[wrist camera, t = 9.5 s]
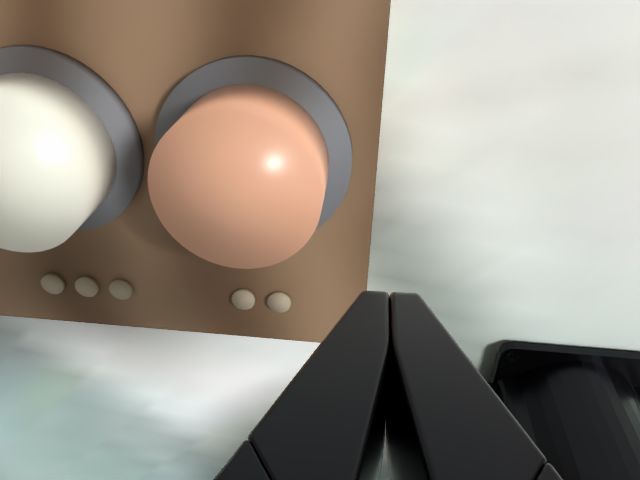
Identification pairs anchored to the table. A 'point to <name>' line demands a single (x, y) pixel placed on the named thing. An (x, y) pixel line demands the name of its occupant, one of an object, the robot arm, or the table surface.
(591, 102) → the table surface
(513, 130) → the table surface
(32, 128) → the cream button
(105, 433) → the table surface
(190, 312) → the button board
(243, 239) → the terracotta button
